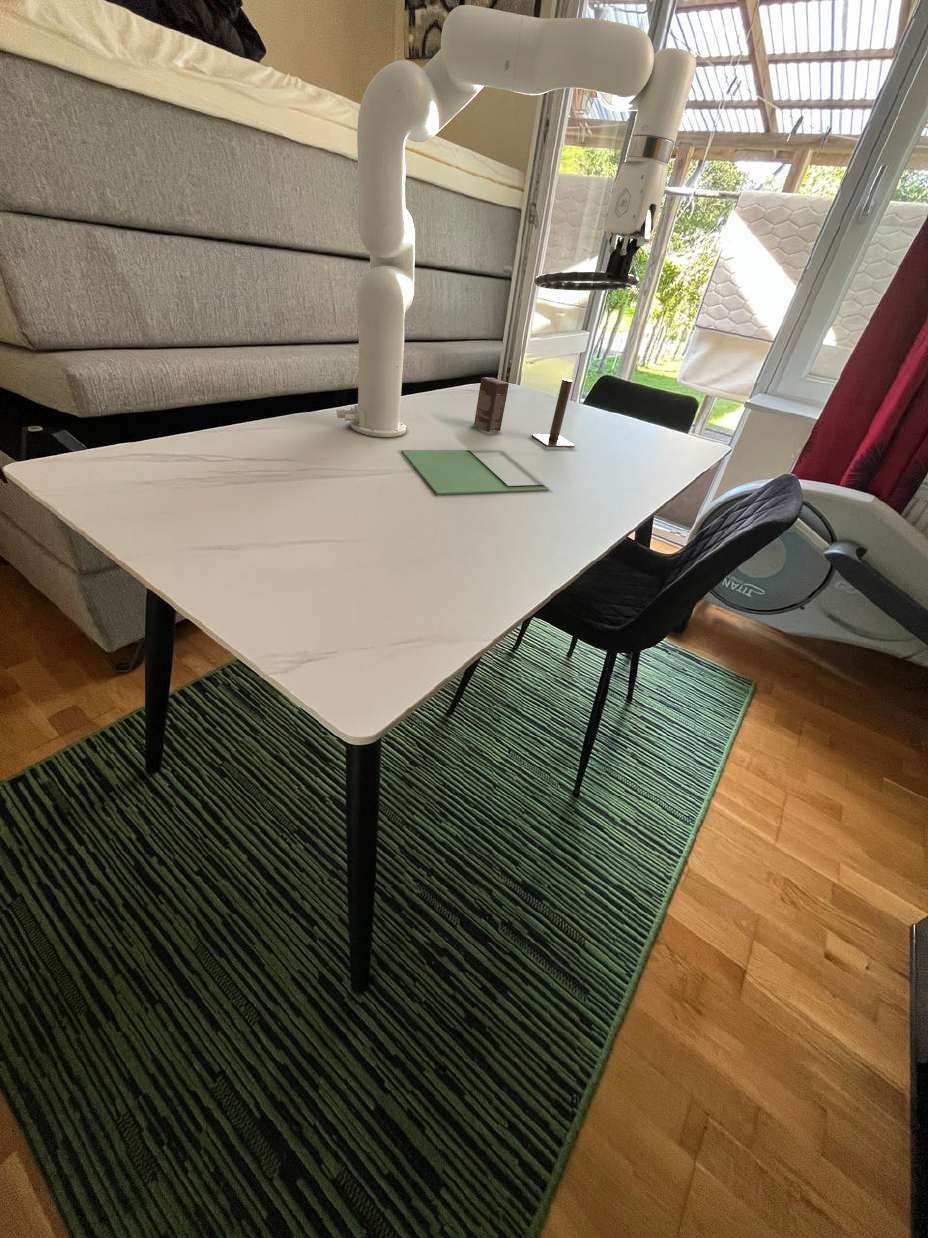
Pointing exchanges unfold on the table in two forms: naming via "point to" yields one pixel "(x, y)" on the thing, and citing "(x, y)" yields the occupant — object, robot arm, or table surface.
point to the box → (491, 404)
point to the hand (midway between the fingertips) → (615, 279)
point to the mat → (460, 473)
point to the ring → (584, 281)
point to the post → (557, 420)
